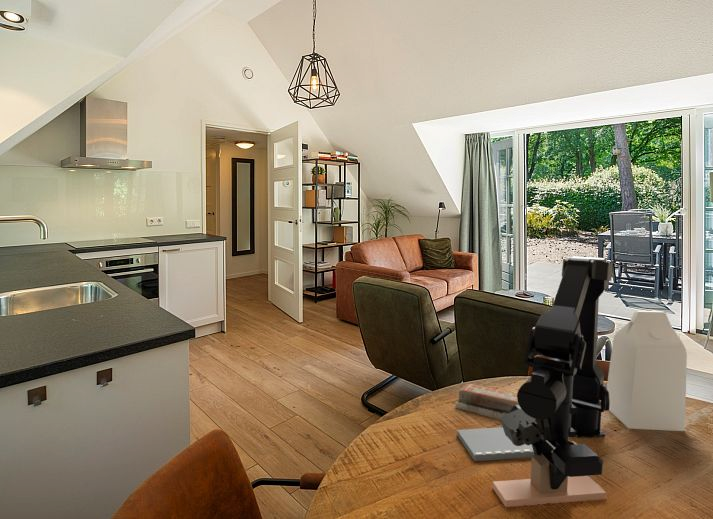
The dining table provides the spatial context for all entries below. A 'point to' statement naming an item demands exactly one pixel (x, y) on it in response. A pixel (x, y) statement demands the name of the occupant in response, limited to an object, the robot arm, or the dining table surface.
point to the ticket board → (492, 445)
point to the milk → (648, 374)
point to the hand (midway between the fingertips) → (548, 482)
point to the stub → (546, 488)
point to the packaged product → (486, 401)
